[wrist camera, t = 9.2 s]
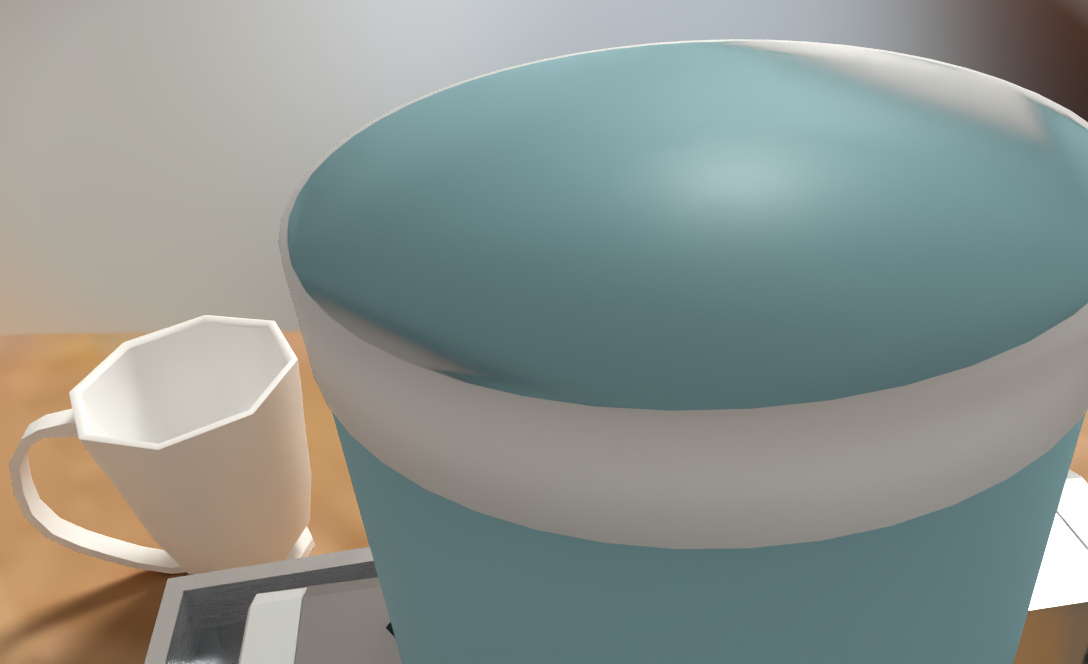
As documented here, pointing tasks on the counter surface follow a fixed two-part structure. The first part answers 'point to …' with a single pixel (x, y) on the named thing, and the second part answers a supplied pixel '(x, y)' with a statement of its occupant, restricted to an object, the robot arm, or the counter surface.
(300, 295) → the tin
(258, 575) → the shallow tray
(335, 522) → the counter surface
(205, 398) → the cup
